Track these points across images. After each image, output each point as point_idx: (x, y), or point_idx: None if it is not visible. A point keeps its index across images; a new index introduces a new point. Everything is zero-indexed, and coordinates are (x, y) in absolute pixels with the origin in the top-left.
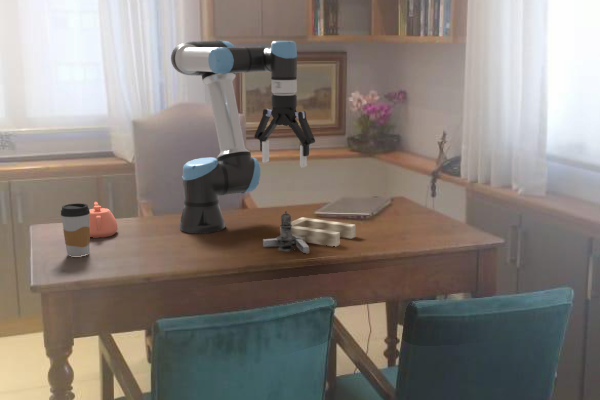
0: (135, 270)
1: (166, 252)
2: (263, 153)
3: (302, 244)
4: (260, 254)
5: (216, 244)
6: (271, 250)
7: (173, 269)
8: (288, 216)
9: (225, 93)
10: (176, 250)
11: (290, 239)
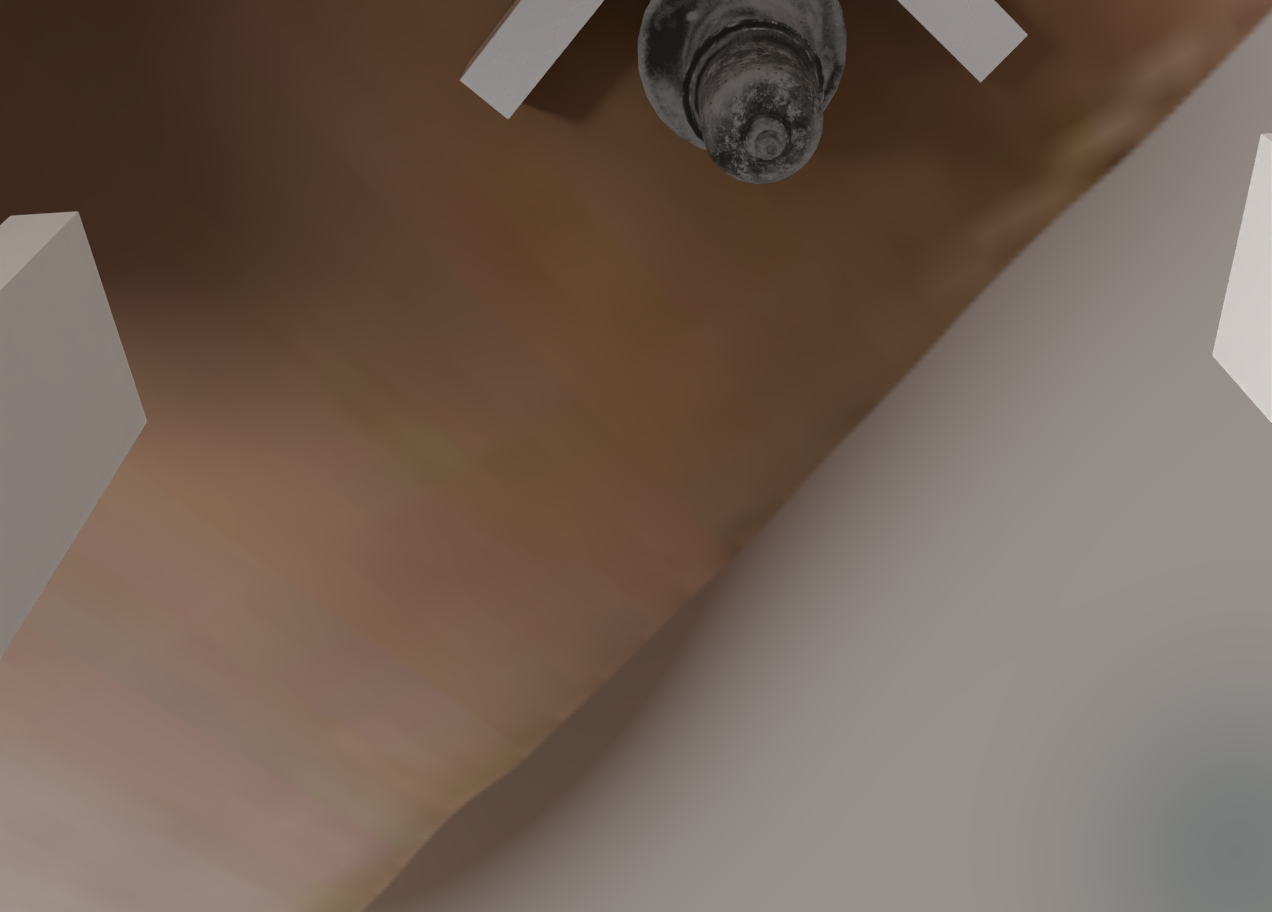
0: (233, 890)
1: None
2: (29, 570)
3: (925, 1)
4: (635, 291)
5: (103, 272)
6: (640, 144)
7: (387, 795)
8: (815, 146)
9: None
10: None
11: (826, 95)
